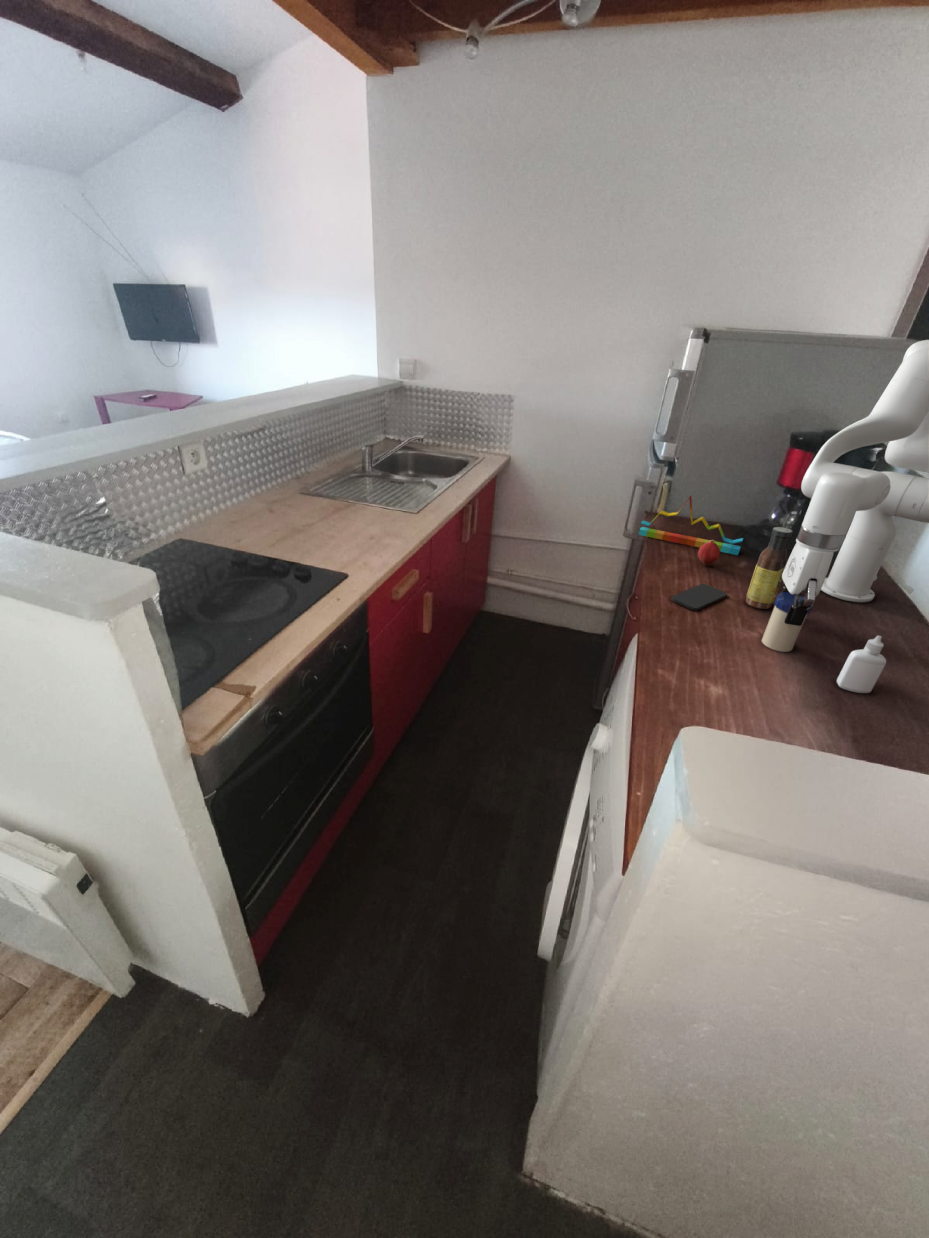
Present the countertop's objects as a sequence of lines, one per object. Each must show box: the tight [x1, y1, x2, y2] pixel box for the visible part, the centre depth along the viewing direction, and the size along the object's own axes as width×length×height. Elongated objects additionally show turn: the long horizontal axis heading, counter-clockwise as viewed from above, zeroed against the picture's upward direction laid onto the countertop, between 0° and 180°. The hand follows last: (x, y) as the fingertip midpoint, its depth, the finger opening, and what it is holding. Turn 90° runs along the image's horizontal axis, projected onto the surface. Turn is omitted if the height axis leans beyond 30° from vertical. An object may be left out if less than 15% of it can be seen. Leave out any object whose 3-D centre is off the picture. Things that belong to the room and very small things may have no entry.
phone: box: [671, 583, 728, 611], centre depth 131 cm, size 7×1×15 cm
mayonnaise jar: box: [761, 605, 808, 653], centre depth 111 cm, size 6×6×11 cm
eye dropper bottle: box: [836, 635, 887, 694], centre depth 97 cm, size 4×6×12 cm
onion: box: [697, 539, 721, 566], centre depth 148 cm, size 6×6×8 cm
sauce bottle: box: [745, 526, 793, 610], centre depth 124 cm, size 7×6×20 cm
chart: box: [638, 495, 744, 556], centre depth 161 cm, size 30×3×15 cm, turn 60°
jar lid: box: [774, 592, 814, 616], centre depth 108 cm, size 7×7×2 cm
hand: (788, 615), depth 110 cm, fingers closed on jar lid, 6 cm apart
